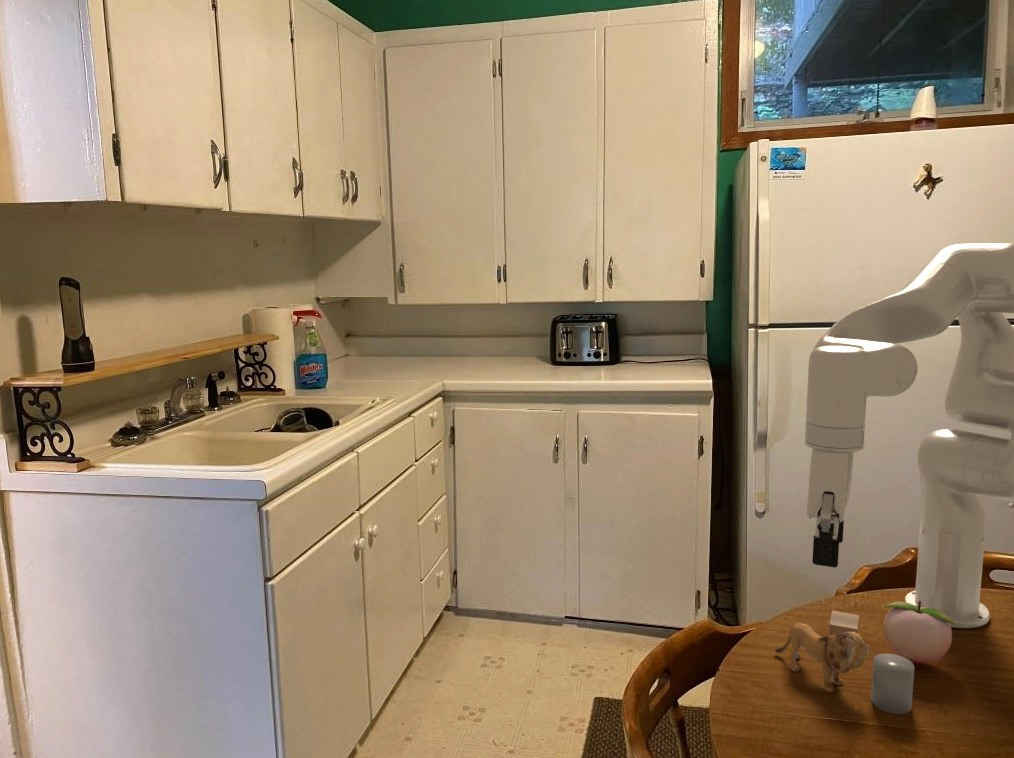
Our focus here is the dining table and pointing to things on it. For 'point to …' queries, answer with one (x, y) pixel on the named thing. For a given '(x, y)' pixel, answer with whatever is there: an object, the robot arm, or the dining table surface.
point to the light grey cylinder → (892, 683)
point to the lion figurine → (827, 651)
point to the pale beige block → (843, 623)
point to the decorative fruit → (917, 632)
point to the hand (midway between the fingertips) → (827, 552)
